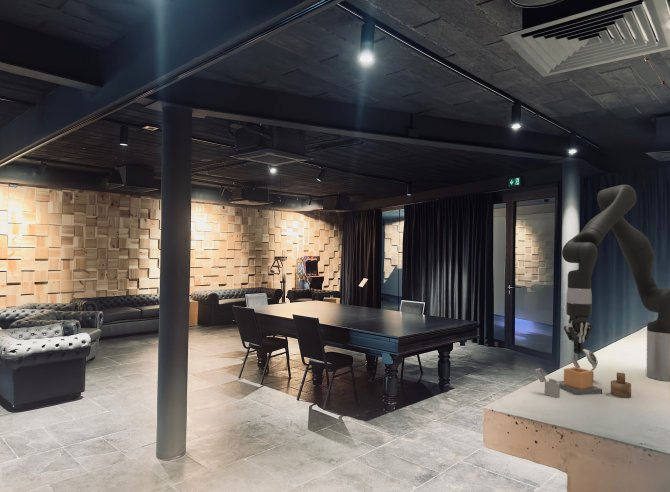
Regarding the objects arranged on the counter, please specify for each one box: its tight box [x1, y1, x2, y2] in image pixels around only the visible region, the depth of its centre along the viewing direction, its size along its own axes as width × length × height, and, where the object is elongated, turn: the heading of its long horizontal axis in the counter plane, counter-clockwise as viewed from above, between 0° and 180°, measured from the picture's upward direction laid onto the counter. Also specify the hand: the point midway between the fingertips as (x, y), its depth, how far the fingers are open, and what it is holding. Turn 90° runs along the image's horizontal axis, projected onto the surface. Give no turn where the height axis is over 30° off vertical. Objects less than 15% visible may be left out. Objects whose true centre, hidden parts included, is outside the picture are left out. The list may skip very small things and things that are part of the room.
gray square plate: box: [556, 380, 603, 396], centre depth 153 cm, size 10×10×5 cm
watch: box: [571, 348, 599, 374], centre depth 164 cm, size 6×8×11 cm
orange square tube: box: [563, 366, 594, 389], centre depth 153 cm, size 6×6×5 cm
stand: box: [610, 372, 632, 399], centre depth 147 cm, size 6×6×7 cm
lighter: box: [535, 367, 561, 399], centre depth 146 cm, size 7×2×8 cm, turn 49°
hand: (578, 353), depth 153 cm, fingers closed
